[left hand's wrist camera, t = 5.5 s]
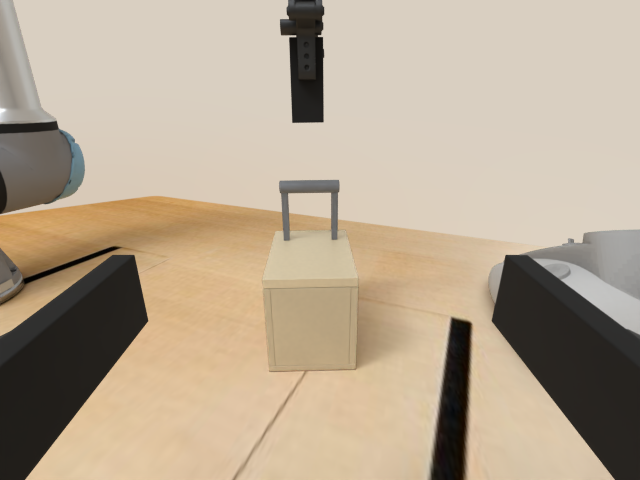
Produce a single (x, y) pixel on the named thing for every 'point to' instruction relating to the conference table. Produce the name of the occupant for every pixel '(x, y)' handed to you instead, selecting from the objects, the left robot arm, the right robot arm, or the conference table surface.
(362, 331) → the conference table surface
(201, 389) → the conference table surface
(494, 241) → the conference table surface
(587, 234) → the projector
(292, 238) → the lid
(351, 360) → the chest
